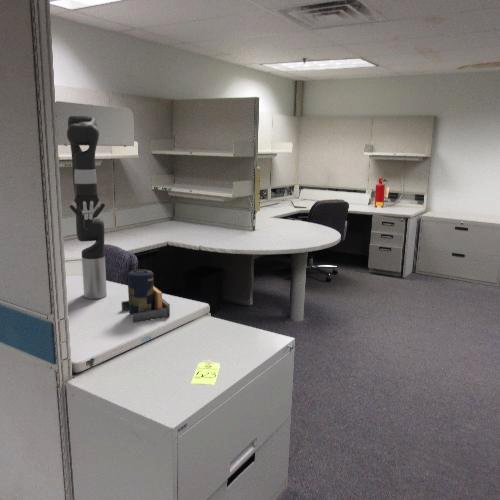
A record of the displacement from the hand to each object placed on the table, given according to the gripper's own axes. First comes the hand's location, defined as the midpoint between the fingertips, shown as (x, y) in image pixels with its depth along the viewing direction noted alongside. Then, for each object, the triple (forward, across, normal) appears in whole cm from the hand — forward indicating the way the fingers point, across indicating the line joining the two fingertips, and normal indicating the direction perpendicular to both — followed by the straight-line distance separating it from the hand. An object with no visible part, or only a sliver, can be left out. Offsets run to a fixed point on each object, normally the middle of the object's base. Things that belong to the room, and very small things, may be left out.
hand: (88, 229), depth 176 cm
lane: (+33, -18, +8) cm, 38 cm away
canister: (+33, -16, +8) cm, 38 cm away
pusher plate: (+33, -22, +8) cm, 40 cm away
